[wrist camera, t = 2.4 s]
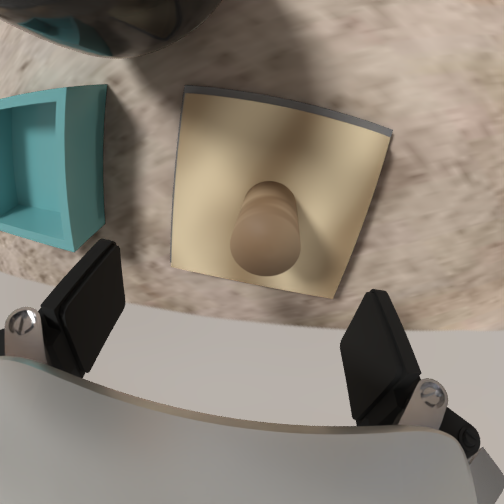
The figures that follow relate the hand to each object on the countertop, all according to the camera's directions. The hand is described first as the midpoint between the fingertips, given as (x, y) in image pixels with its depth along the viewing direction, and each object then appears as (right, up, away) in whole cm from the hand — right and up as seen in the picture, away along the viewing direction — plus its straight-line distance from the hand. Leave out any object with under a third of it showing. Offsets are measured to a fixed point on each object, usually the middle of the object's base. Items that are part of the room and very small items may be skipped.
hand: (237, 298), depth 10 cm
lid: (+2, +5, +8) cm, 10 cm away
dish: (-16, +10, +8) cm, 20 cm away
